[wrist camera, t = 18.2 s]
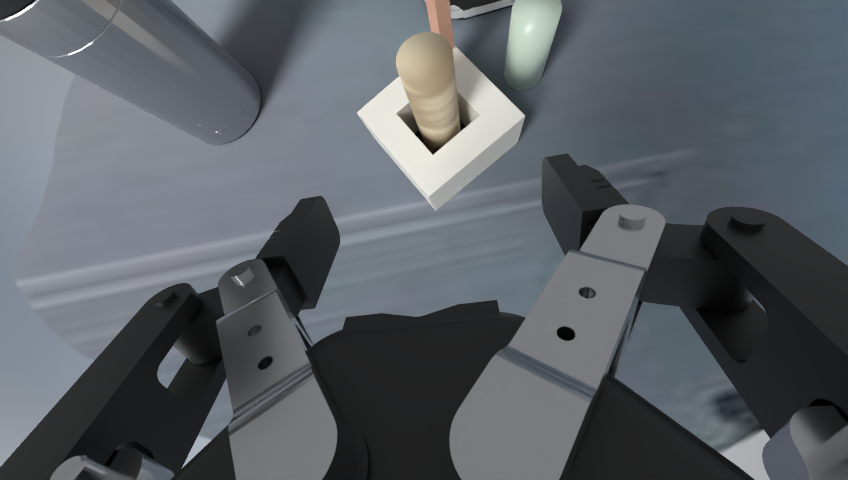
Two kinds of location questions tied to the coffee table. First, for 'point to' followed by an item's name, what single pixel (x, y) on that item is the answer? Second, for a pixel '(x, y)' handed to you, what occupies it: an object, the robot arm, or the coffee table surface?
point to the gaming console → (475, 7)
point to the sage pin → (530, 41)
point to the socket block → (470, 149)
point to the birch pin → (430, 87)
